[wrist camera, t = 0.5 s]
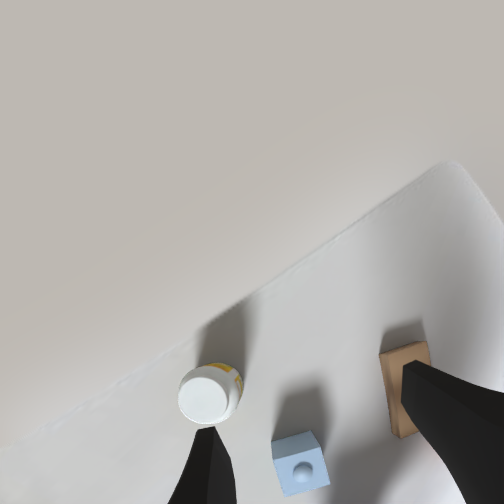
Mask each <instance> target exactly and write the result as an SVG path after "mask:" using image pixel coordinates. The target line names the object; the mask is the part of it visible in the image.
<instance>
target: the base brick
mask: <svg viewBox="0 0 504 504" xmlns="http://www.w3.org/2000/svg"><path fill="white" fill-rule="evenodd" d="M379 358H380V363H381V368H382V374H383V379H384V385H385V390H386V396H387V402H388V408H389V415H390V421H391V428H392V433H393V434H394V435H396V436H397V437H399V438H401V439H402V438H404V437H407V436H409V435H411V434H414V433H416V432H418V431H419V430H418V429H417V427H416V426H415V425H414V423H413V422H412V421H411V419H410V417H409V416H408V414H407V413H406V411H405V409H404V407H403V405H402V404H401V390H402V372H403V365H405V364H407V363H409V362H412V361H414V360H418V361H420V362H423V363H425V364H427V365H429V366H431V363H430V357H429V352H428V346H427V341H419V342H414V343H411V344H408V345H405V346H402V347H399V348H396V349H393V350H390V351H387V352H384V353H381V354H379Z"/></svg>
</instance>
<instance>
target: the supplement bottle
mask: <svg viewBox="0 0 504 504" xmlns="http://www.w3.org/2000/svg"><path fill="white" fill-rule="evenodd" d="M242 393H243V381H242V378H241V376H240V374H239V373H238V372H237V371H236V370H235V369H234V368H233V367H231V366H230V365H227V364H224V363H210V364H207V365H204V366H201V367H198V368H195V369H193V370H191V371H190V372H189V373H187V374H186V375H185V377H184V378H183V379H182V381H181V383H180V386H179V393H178V404H179V407H180V409H181V411H182V413H183V414H184V415H185V416H186V417H187V418H188V419H190V420H191V421H193V422H196V423H200V424H213V423H218V422H221V421H224V420H226V419H227V418H229V417H230V416H231V415H232V414H233V413H234V411H235V410H236V408H237V406H238V403H239V401H240V399H241V396H242Z"/></svg>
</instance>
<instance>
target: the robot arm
mask: <svg viewBox="0 0 504 504" xmlns="http://www.w3.org/2000/svg"><path fill="white" fill-rule="evenodd" d="M401 404H402V405H403V407H404V409H405V411H406V413H407V414H408V416H409V417H410V419H411V421H412V422H413V423H414V425H415V426H416V427H417V429H418V430H419V431H420V432H421V434H422V435H423V436H424V437H425V439H426V440H427V441H428V442H429V444H430V445H431V446H432V447H433V449H434V450H435V451H436V452H437V454H438V455H439V456H440V457H441V459H442V460H443V462H444V463H445V465H446V466H447V468H448V470H449V471H450V473H451V475H452V477H453V478H454V480H455V482H456V484H457V486H458V488H459V490H460V491H461V493H462V495H463V498H464V500H465V502H466V504H504V393H502V392H498V391H494V390H490V389H487V388H483V387H480V386H477V385H474V384H472V383H469V382H466V381H464V380H461V379H459V378H456V377H454V376H452V375H449V374H447V373H445V372H442V371H440V370H438V369H436V368H434V367H431V366H429V365H427V364H425V363H423V362H420V361H418V360H414V361H412V362H409V363H407V364H405V365H403V372H402V390H401ZM168 504H237V500H236V487H235V479H234V473H233V468H232V464H231V459H230V456H229V454H228V452H227V450H226V448H225V446H224V445H223V442H222V440H221V438H220V436H219V434H218V432H217V430H216V428H215V426H213V427H208V428H203V429H198V430H197V432H196V435H195V438H194V442H193V445H192V448H191V451H190V454H189V457H188V460H187V462H186V465H185V467H184V470H183V472H182V475H181V477H180V480H179V482H178V484H177V486H176V488H175V490H174V492H173V494H172V496H171V498H170V500H169V502H168Z"/></svg>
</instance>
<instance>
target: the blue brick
mask: <svg viewBox="0 0 504 504" xmlns="http://www.w3.org/2000/svg"><path fill="white" fill-rule="evenodd" d="M271 447H272V457H273V463H274V466H275V469H276V472H277V475H278V478H279V482H280V485H281V488H282V491H283V494H284V497H287V496H291V495H295V494H299V493H302V492H306V491H310V490H313V489H316V488H320V487H323V486H326V485H329V484H330V480H329V476H328V473H327V469H326V465H325V462H324V458H323V454H322V450H321V447H320V445H319V443H318V442H317V440H316V438H315V436H314V435H313V433H312V431H307V432H304V433H301V434H297V435H294V436H290V437H287V438H283V439H279V440H275V441H271Z"/></svg>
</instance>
